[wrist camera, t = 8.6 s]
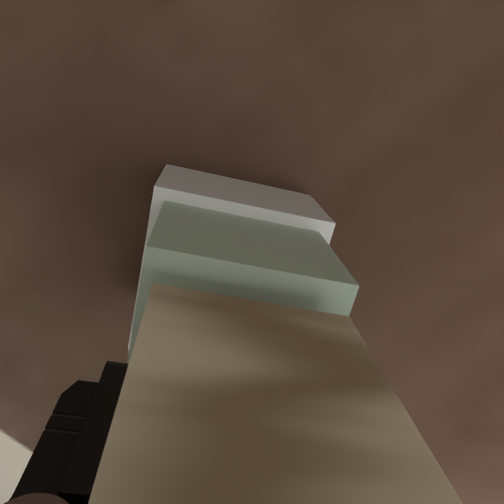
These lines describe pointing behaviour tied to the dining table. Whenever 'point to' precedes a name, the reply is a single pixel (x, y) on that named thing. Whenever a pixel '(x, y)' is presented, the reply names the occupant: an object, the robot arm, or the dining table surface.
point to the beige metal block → (259, 412)
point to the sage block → (242, 261)
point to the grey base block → (235, 202)
